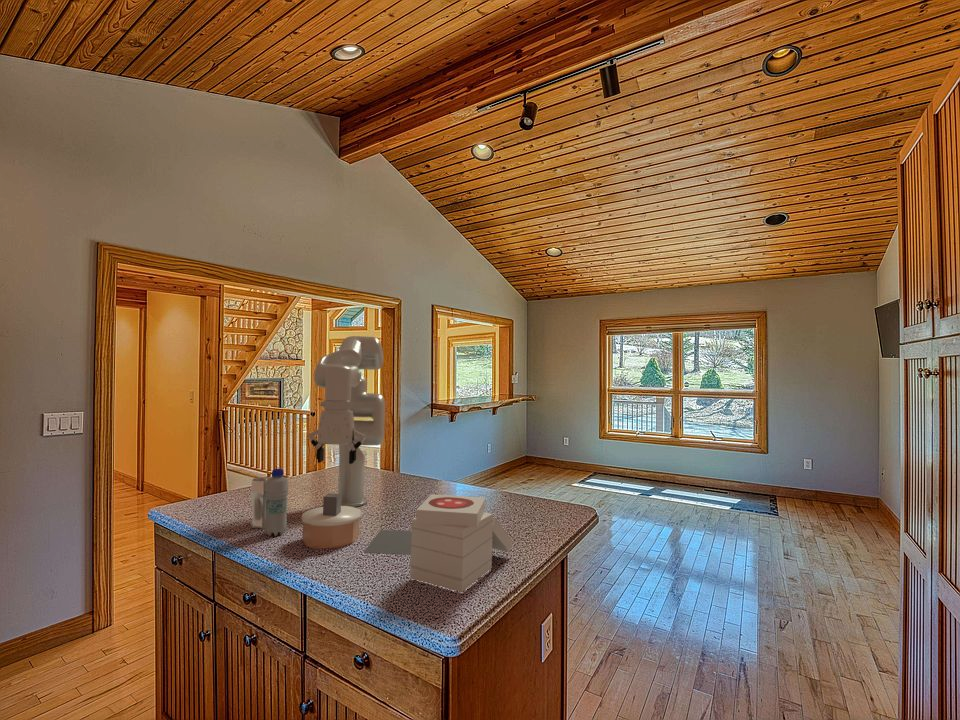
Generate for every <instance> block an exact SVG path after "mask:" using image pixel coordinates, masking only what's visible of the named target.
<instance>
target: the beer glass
mask: <svg viewBox="0 0 960 720" xmlns="http://www.w3.org/2000/svg"><path fill="white" fill-rule="evenodd" d="M271 477H272V476H271ZM271 477H270V476H260V477H255V478H252V479H251V489H250V503H251V508H252V521H251V524H250V525H251V526H250V527H251V528H252V527H253V529H264V527H265V517H266V495H265V493H266V492H265V488H266V483H267V480H268V479H270V478H271Z"/></svg>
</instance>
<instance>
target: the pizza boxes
mask: <svg viewBox="0 0 960 720" xmlns="http://www.w3.org/2000/svg"><path fill="white" fill-rule="evenodd" d="M486 504H487V503H486V497H483V496H481V497H480V496H466V495H465V496H463V495H449V494H448V495H446V494H433V493H432V494H430V495H429V496H428V497H427V498H426V500H424V501H423V502H422V503H421V504H420V505H419V507H418V508H417V509H416V510H415V511H416V512H415V513H416V514H415V517H413V518H411V531H412V535H411V555H410V571H409V573H410V575H409V577H410V578H412V579H415V580H419V581H423V582H427V583H431V584H434V585H437V586H442V587H445V588H449V589H452V590H456V591H459V592H463V591H464V590H465V589H466V588H467V587H468V586H470V585H471V584H472V583H474V582H475V581H476V580H477V579H478V578H480V577H481V576H482V575H483V574H485V573H486V572H487V571H488V570H490V569H491V568H492V566H493V564H492V563H493V550H497V551H502V552H505V553H506V552H507V553H511V549H512V547H513V544H514V541H513V539H512V538H511V537H510V535H509V534H508V532H507V531H506V529H504V527H503V526H502V524H501V523H500V522H499V521H498V519H497V517H494V513H491V512H490V513H489V512H485V511H486ZM410 578H409V579H410ZM478 580H479V579H478Z"/></svg>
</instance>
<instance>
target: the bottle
mask: <svg viewBox="0 0 960 720" xmlns="http://www.w3.org/2000/svg"><path fill="white" fill-rule="evenodd" d="M288 482H289V481H288V478H287V477H284V469H283V468H274V469H272V471H271V478H270V479H268V480H267V483H266V488H265V492H266V493H265V495H266V517H265V527H264V528H263V529H264V534H266V535H267V536H269V537H271V536H272V535H273V536H274V537H276V536H277V537H278V534H279V535H280V536H281V535H283V534H284V533H285V532H286V530H287V526H288V522H287V505H288V502H287V501H288V494H289V483H288Z"/></svg>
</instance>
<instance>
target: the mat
mask: <svg viewBox="0 0 960 720" xmlns="http://www.w3.org/2000/svg"><path fill="white" fill-rule="evenodd" d="M411 535H412V530H400V529H399V530H396V529H395V530H394V529H380V530H379V531H378V533H377V534H376V535H375V537H374V538H373V539H372V540H371V542H369V544H368V546H367V547H366V548H365V549H364V550H363V553H364V554H385V555H386V554H387V555H389V554H390V555H406V556H407V555H409V556H411Z"/></svg>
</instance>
